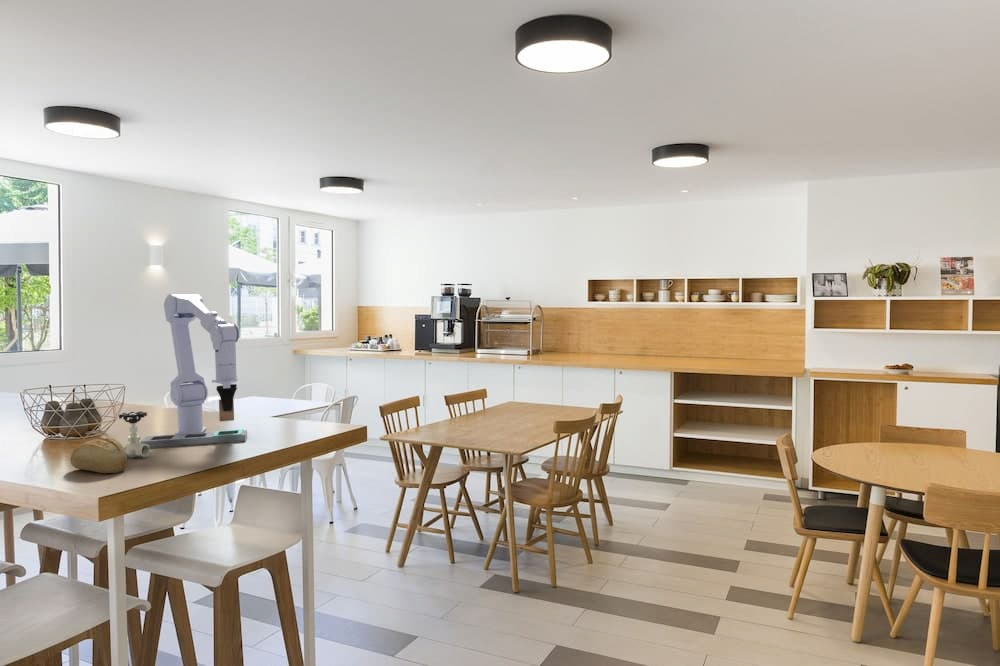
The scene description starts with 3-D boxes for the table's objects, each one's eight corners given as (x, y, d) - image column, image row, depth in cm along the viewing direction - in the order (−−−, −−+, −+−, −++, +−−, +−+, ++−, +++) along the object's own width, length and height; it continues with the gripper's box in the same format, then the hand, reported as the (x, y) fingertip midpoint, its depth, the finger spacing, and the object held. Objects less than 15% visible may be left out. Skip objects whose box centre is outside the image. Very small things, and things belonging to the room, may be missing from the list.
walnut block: (219, 419, 207) (219, 399, 206) (233, 418, 208) (233, 398, 208) (219, 421, 203) (218, 401, 203) (234, 420, 204) (233, 400, 204)
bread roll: (94, 464, 178) (93, 434, 177) (139, 468, 173) (137, 437, 172) (59, 473, 169) (58, 441, 168) (105, 478, 164) (104, 444, 163)
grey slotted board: (146, 443, 204) (146, 435, 203) (247, 436, 211) (247, 429, 211) (140, 448, 196) (140, 440, 196) (245, 441, 204) (245, 433, 203)
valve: (136, 461, 181) (134, 415, 180) (115, 460, 182) (113, 415, 181) (154, 455, 187) (152, 411, 187) (133, 454, 188) (131, 411, 188)
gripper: (211, 363, 210) (213, 407, 211) (210, 367, 197) (212, 414, 197) (236, 362, 213) (237, 405, 213) (237, 365, 199) (238, 412, 200)
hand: (227, 409), depth 206 cm, fingers closed on walnut block, 4 cm apart
